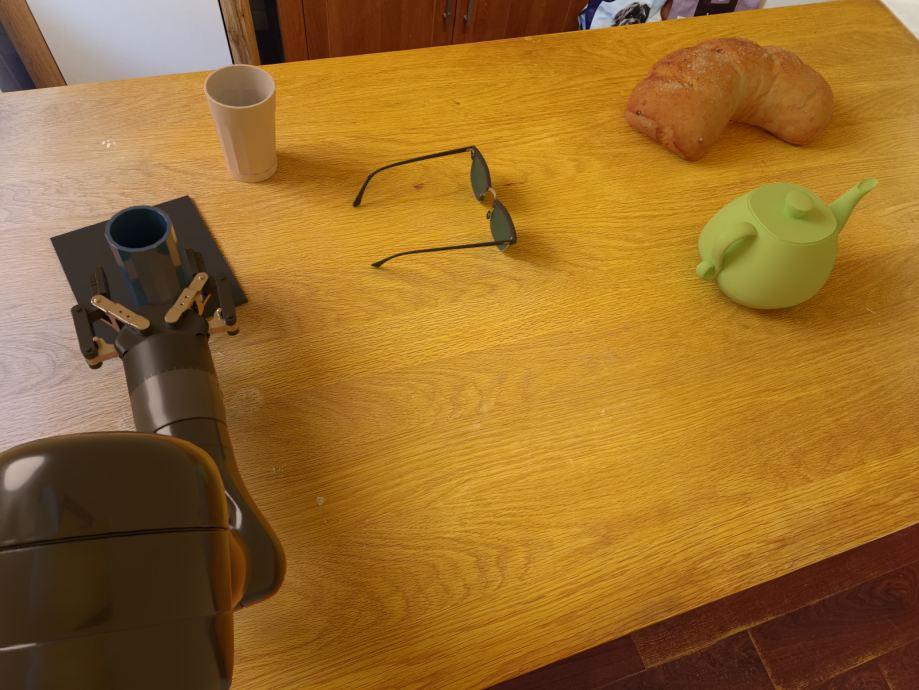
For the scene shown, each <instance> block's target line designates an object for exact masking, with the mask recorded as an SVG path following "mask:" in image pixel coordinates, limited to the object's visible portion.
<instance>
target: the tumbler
mask: <svg viewBox="0 0 919 690" xmlns="http://www.w3.org/2000/svg"><path fill="white" fill-rule="evenodd" d="M152 206H153V205H148V204H146V205H145V204H144V205H143V204H142V205H132V206H129V207H126V208H122V209H121V210H119V211H118V212H116V213H115V214H112V216H111V217H110V220H109V219H108V220H109V221H108V223H107V224H106V229H105V236H106V238H107V241H108V243H109V246H110V248H111V250H112V253H113V255H114V258H115V260H116V263H117V265H118V267H119V270H120V272H121V275H122V277H123V279H124V282H125V284H126V287H127V289H128V292H129V294H130V296H131V299H132V301H133V303H134V306H135V308H136V309H137V307H139V306H144V305H155V304H158V303H160V302H162V301H166V300H170V299H171V300H172V302H176V301H177V299H178V298H179V296H180V295H181V293H182V292H183V290H184V289H185V288H188V287H189V285H190V281H189V278H188V275H187V271H186V268H185V265H184V261H183V258H182V255H181V251H180V248H179V245H178V241H177V238H176V234H175V231H174V228H173V224H172V222H171V220H170V218H169V216H168V214H167V213H165V212H164V211H162V210H161V209H159V208H156V207H152Z"/></svg>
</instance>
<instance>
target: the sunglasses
mask: <svg viewBox="0 0 919 690" xmlns="http://www.w3.org/2000/svg"><path fill="white" fill-rule="evenodd" d="M468 152H470V159H471V166H470V170H469V171H470V173H469V177H470V178H469V181H470V186H471V190H472V192H473V196H474V198H475V200H476V202H477V203H482V202H484V200H485V198H486V196H487V193H488V192H491V193H492V194H493V196H494V197H493V200H492V203H491V207H492V211H491V210H487V213H486V215H485V218H486V219H487V220H489V230H490V234H491V238H492V239H493V241H485V242H477V243H469V244H468V243H467V244H459V245H458V244H457V245H450V246H440V247H433V248H432V247H431V248H425V249H423V248H422V249H416V250H410V251H404V252H399V253H396V254H392V255H390V256H388V257H386V258H383V259H380V260H378V261H376V262H373V263H371V264H370V266H371V267H375V268H380V267H381V266H383V265H384V264H385V263H387V262H388V261H390V260H392V259H395V258H397V257H403V256H406V255H415V254H421V253H433V252H434V253H435V252H444V251H453V250H463V249H465V250H466V249H477V248H485V247H496V248H497V250H499V252H505V251H506V250H507V249H508V248H509V247H511V246H514V245H515V244H516V243H517V242H518V235H517V230H516V227H515V225H514V224H515V223H514V221H513V219H512V216H511V213H510V212H509V211H508V209H507V207H506V206H505V205H504V204H503V202H502V201H500V200H499V199H498V198H496V197H497V193H496V190H495V189H494V188H492V187H493V186H492V178H491V173H490V168H489V165H488V163H487V161H486V159H485V157H484V156H483V154H482V153H481V151H480V150H479V148H478V147H477V146H476V145H468V146H464V147H459V148H455V149H450V150H449V149H448V150H445V151H444V150H443V151H440V152H434V153H430V154H427V155H423V156H418V157H413V158H409V159H406V160H401V161H397V162H393V163H391V164H388V165H385V166H381V167H380V168H378V169H376V170H374V171H372V172H371V173H370V174H369V175H368V176H367V178H366V179H365V181H364V183H363V184H362V186H361V188H360V189H359V191H358V193H357V195H356V197H355V198H354V200H353V202H352V207H353V208H357V207H359V206H360V205H361V204H362V199H363V196H364V193H365V191H366V189H367V186H368V185H369V183H370V182H371V180H372V179H373V177H374V176H375V175H377V174H378V173H380V172H382V171H385V170H388V169H391V168H395V167H399V166H403V165H408V164H411V163H416V162H421V161H426V160H430V159H431V160H432V159H436V158H441V157H446V156H451V155H457V154H463V153H468Z"/></svg>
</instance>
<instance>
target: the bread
mask: <svg viewBox="0 0 919 690" xmlns="http://www.w3.org/2000/svg"><path fill="white" fill-rule="evenodd" d="M833 105H834V93H833V91H832V88H831V86H830V84H829V82H828V81H827V80H826V79H825V78H824V76H823V75H822V74H820V73H819V72H818V71H817V70H816V69H814V68H812V66H810V64H805V63H804V62H803V60H802V59H801V58H800V57H799V56H798V55H797V54H795V53H794V52H793V51H790V50H789V49H787V48H784V47H782V46H780V45H779V46H778V45H766V46H761V45H760V44H759V43H758V42H756V41H754V40H751V39H748V38H742V37H740V36H738V37H735V36H734V37H716V38H711V39H710V38H709V39H706V40H703V41H700V42H698V43H696V44H695V45H693V46H686V47H682V48H679V49H675V50H674V51H671V52H670V53H668V54H666V55H665V56H663V57H662V58H660V59H658V61H656V62H655V63H654V64H653V65H652V66H651V67H650V69H649V70H648V71H647V72H646V75H645V76H644V78H643V79H642V80H640V81H639V82H637V84H636V85H635V86H634V87H633V88H632V91H631V93H630V95H629V97H628V100H627V102H626V105H625V108H624V118H625V120H626V121H627V123H628V124H629V126H630V127H631V128H633V129H634V130H636V131H639V132H640V133H642V134H645V135H646V136H647V137H649V138H651V139H652V140H654V141H656V142H658V143H660V144H661V145H663V146H664V147H665V148H666V149H668V150H669V151H670V152H671V153H673V154H676V155H678V156H679V157H680V158H681V159H682V160H683V161H686V162H697V161H699V160H700V159H702V158H703V157H704V156H705V155H706V153H707V152H708V151H709V150H710V149H711V148H712V147H713V146H715V145H714V144H715V143H716V142H717V141H718V140H719V138H720V137H721V135H723V132H724V131H725V129H726V127H727V125H728V124H729V122H730V121H735V122H739V123H744V124H747V125H751V126H753V127H756V128H759V129H761V130H763V131H764V132H766V133H767V134H768V135H771V136H772V137H775V138H776V139H778V140H781V141H783V142H785V143H787V144H790V145H793V146H804V145H806V144H809V143H811V142H812V141H814V140H815V139H816V138H817V137H818V136H819V135H820V134H821V133H822V132H823V131H825V130H826V129H827V128H828V127H829V125H830V124H831V122H832V120H833V117H834V111H833V110H834V109H833Z"/></svg>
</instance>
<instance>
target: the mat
mask: <svg viewBox="0 0 919 690" xmlns="http://www.w3.org/2000/svg"><path fill="white" fill-rule="evenodd" d="M151 206H152V207H156V208H159V209H161V210H162V211H164V212H165V213H167V214H168V216H169V218H170V220H171V222H172V224H173V228H174V231H175V234H176V238H177V241H178V245H179V248H180V251H181V255H182V258H183V261H184V265H185V268H186V271H187V275H188V278H189V281H190V284H191V282H192V281H193V276H192V272H191V268H190V264H189V261H188V257H187V253H186V249H187V248H191V247H192V248H193V252H197V251H199V252H200V253H201V254H202V257H203V260H204V264H205V267H206V271H207V273H208V274H209V275H211V276H217V275H218V274H220V273H224V274H226V275H227V276H228V279H229V283H230V288H231V292H232V297H233V302H234V306H235V308H236V307H238V306H240V305H243V304H244V305H245V304H246V303H248V302H249V300H248V298H247V296H246V294H245V293H244V291H243V289H242V287H241V285H240V283H239V282H238V280H237V278H236V276H235V275H234V273H233V271H232V269H231V268H230V266H229V264H228V263H227V261H226V259H225V257H224V256H223V254H222V252H221V250H220V249H219V246H218V245H217V243H216V241H215V239H214V238H213V236H212V234H211V233H210V232H211V231H209V229H208V227H207V225H206V224H205V222H204V220H203V218H202V217H201V215H200V213H199V211H198V209H197V208H196V206H195V205H194V202H193V201H192V199H191V197H190V195H189V194H185V195H183V196H180V197H176V198H173V199H171V200H170V199H169V200H167V201H164V202H160V203H158V204H154V205H151ZM110 219H111V218H110ZM110 219H107V220H102V221H100V222H97V223H93V224H90V225H87V226H83V227H81V228H77V229H74V230H71V231H67V232H64V233H61V234H58V235H55V236H50V238H49V240H50V242H51V244H52V247H53V249H54V251H55V254H56V257H57V258H58V261H59V263H60V266H61V268H62V270H63V272H64V275H65V277H66V280H67V282H68V284H69V287H70V289H71V291H72V293H73V296H74V298H75V301H76V303H77V305H78V304H81V305H85V304H87V303H89V302H90V301H91V298H92V296H91V290H90V284H89V275H90V273H95V271H94V267H98V266H102V267H103V269H104V272H105V274H106V276H107V280H108V284H109V289H110V295H111V300H112V302H114V303H119V304H121V305H123V306H124V307H126V308H127V309H129V310H131V311H132V312H134V311H135V310H137V309H136V308H135V306H134V303H133V301H132V299H131V296H130V294H129V292H128V289H127V287H126V284H125V282H124V279H123V277H122V275H121V272H120V270H119V267H118V265H117V263H116V260H115V258H114V255H113V253H112V250H111V248H110V246H109V243H108V241H107V238H106V236H105V229H106V224H107V223H108V221H109V220H110ZM217 308H221V305H220V300H219V295H215V294H211V296H210V297H209V299H208V300H207V302H206V304H205V305H204V310H203V313H202V315H201V316H202V317H204V318H205V319H206V318H209V317H211V316H214V313H215V311H217ZM93 326H94V330H95V334H96V337H98V338H102V339H104V341H105V342H106V343H107V344H113V342H114V339H115V338H116V336H117V335H118V332H117V331H116V330H115V329H114V328H113V327H112V326H110V325H109V324H107V323H106V322H104V321H102V320H101V319H100V320H98V321H96V322H94V323H93Z"/></svg>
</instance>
